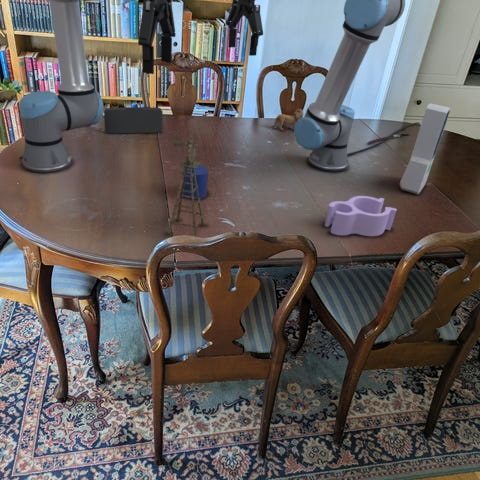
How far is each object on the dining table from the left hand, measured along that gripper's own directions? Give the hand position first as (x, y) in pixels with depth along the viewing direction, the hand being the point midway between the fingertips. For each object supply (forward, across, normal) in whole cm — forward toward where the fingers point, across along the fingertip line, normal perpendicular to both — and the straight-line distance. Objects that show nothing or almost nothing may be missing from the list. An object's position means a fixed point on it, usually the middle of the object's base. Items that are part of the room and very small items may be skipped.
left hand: (157, 67), depth 124 cm
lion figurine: (+40, +85, -30) cm, 99 cm away
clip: (+39, +6, -62) cm, 74 cm away
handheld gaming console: (+41, +51, +29) cm, 71 cm away
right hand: (+5, +58, -11) cm, 60 cm away
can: (+40, +8, -10) cm, 42 cm away
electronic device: (+39, +43, -82) cm, 101 cm away
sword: (+40, +93, -77) cm, 127 cm away
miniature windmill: (+40, -14, -14) cm, 44 cm away
